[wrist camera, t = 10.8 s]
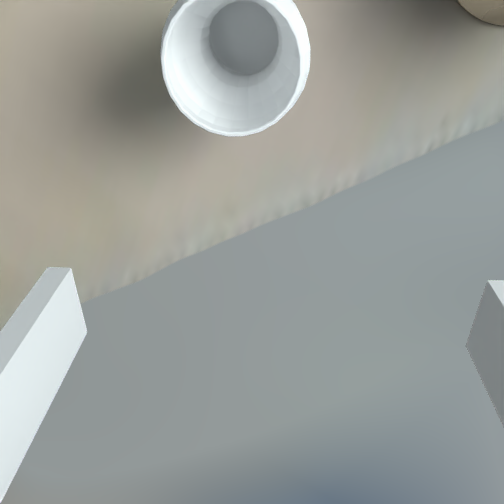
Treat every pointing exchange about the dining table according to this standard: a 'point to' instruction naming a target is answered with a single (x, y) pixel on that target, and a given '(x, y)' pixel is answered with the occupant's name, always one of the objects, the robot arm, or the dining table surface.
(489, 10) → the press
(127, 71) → the dining table surface
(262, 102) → the cup
